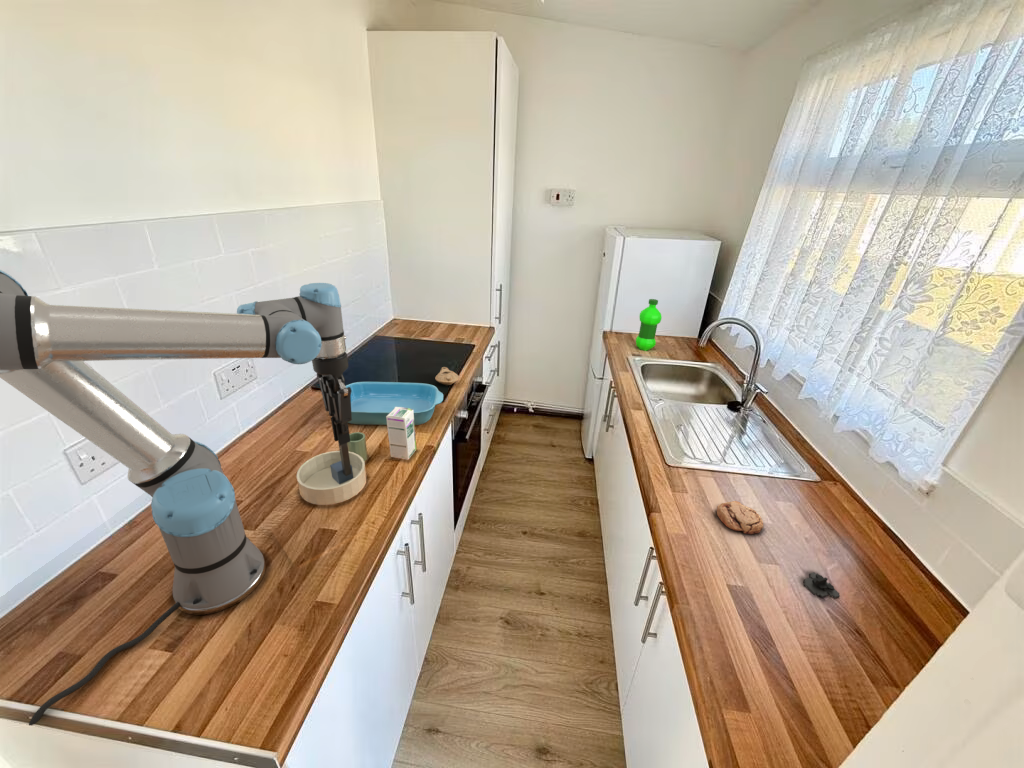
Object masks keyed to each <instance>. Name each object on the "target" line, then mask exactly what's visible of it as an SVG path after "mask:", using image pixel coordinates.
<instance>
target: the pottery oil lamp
mask: <svg viewBox="0 0 1024 768" xmlns="http://www.w3.org/2000/svg"><path fill="white" fill-rule="evenodd" d="M434 378H435V379H434V380H435V381H436V382H437V383H439V384H441V385H445V386H451V385H452V384H454V383H456V382H458V381H459V379H460V376H459V375H458V373H456V372H454V371H453V370H450V369H449V368H448V367H447V366H443V367H441V368H440V370H439V372H438V373H437V375H436V376H435V377H434Z"/></svg>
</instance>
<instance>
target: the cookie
mask: <svg viewBox="0 0 1024 768" xmlns="http://www.w3.org/2000/svg"><path fill="white" fill-rule="evenodd" d="M716 515H717V517H718V518H719V520H720V521H721V522H722V524H724V526H726V528H728V529H731V530H733V531H736V532H737V531H738V532H742V533H743V534H747V535H754V534H760V533H761V531H762V530H763V528H764V521H763V519H762V517H761V516H760V514H759V513H758V512H757V510H755V509H754V508H751V507H749V506H747V505H745V504H742V503H741V502H740V501H737V500H732V501H727V502H722V503H720V504H718V505H717V508H716Z"/></svg>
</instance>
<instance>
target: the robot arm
mask: <svg viewBox="0 0 1024 768" xmlns="http://www.w3.org/2000/svg"><path fill="white" fill-rule="evenodd" d="M346 340H347V336H346V335H345V330H344V323H343V313H342V303H341V299H340V294H339V290H338V287H336V286H335V285H333V284H332V283H328V282H312V283H311V282H310V283H307V284H303V285H301V286H300V288H299V295H298V296H294V297H288V298H280V299H272V300H270V299H269V300H262V301H257V300H256V301H254V302H249V303H244V304H240V305H239V306H238V307H237V308H236V313H232V312H230V313H229V312H208V311H191V310H190V311H188V310H187V311H186V310H169V309H167V310H166V309H149V308H148V309H146V308H126V307H105V306H104V307H103V306H83V305H64V304H62V305H61V304H50V303H47V302H45V301H43V299H41V298H39V297H38V296H35V295H29V294H28V292H27V291H26V289H25V288H24V287H23V286H22V284H21V283H20V282H19V281H18V280H16V278H14V277H13V276H12V275H10V274H8V273H7V272H6V271H3V270H2V269H0V379H2V380H3V381H4V382H6V383H7V384H8V385H10V386H11V387H13V388H14V389H16V390H17V391H18V392H19V393H21V394H23V395H24V396H26V397H27V398H28V399H30V400H31V401H32V402H33V403H36V404H37V405H38V406H40V408H42V409H44V410H45V411H47V412H48V413H49V414H51V415H52V416H54V417H55V418H56V419H58V420H60V421H61V422H62V423H64V424H65V425H66V426H68V427H70V429H72V430H74V431H75V432H77V433H78V434H79V435H81V436H82V437H84V438H85V439H87V440H88V441H89V442H91V443H92V444H93V445H95V446H96V447H97V448H99V449H101V450H102V451H103V452H105V453H106V454H107V455H109V456H110V457H112V458H113V459H115V460H116V461H117V462H119V463H120V464H122V465H123V466H125V467H126V468H127V470H128V471H127V480H128V481H129V482H130V483H132V484H133V485H135V486H136V487H137V488H139V489H140V490H142V492H143V491H144V492H145V493H146V494H147V495H149V496H150V497H151V503H150V504H151V506H150V507H151V515H152V519H153V521H154V523H155V525H157V527H158V529H159V531H160V534H161V536H162V539H163V541H164V544H165V546H166V549H167V551H168V553H169V556H170V558H171V561H172V564H173V566H174V572H173V580H172V598H173V600H174V602H175V603H174V604H173V605H172V606H171V607H170V608H168V609H167V610H166V611H165V612H164V613H163V614H161V616H159V617H158V618H157V619H156V620H155V621H154V622H153V623H152V624H151V625H150V626H149V627H148V628H147V629H146V630H144V631H143V633H141V634H139V635H138V636H137V637H135V638H134V639H132V640H130V641H127V642H125V643H122V644H120V645H117V646H116V647H113V649H111V650H110V651H108V652H107V653H106V654H105V655H103V656H102V657H101V658H100V659H99V661H98V662H97V663H96V664H95V665H94V667H93V668H92V669H91V671H90V672H89V673H88V674H86V675H85V676H84V677H83V678H82V679H80V680H79V681H77V682H76V683H74V684H72V685H71V686H69V687H67V688H65V689H64V690H62V691H60V692H58V693H57V694H55V695H54V696H52V697H51V698H49V699H48V700H46V701H45V702H44V703H43V704H42V705H41V706H40V707H39V708H38V709H37V710H36V711H35V713H34V714H33V716H32V717H31V718H30V721H29V723H28V726H33V725H35V724H37V722H38V721H39V720H40V719H41V717H43V715H44V713H45V712H46V711H47V710H48V709H49V708H50V707H52V706H53V705H54V704H56V703H58V702H59V701H60V700H62V699H64V698H65V697H67V696H70V695H71V694H72V693H74V692H76V691H77V690H79V689H81V688H82V687H84V686H85V685H87V683H90V681H91V680H92V679H94V678H95V677H96V676H97V675H98V673H99V672H100V671H101V670H102V668H103V667H104V666H105V665H106V663H107V662H108V661H109V660H110V659H112V657H114V656H115V655H118V653H120V652H122V651H123V652H124V651H125V650H128V649H129V648H132V647H134V646H136V645H137V644H139V643H141V642H142V641H144V640H145V639H147V638H148V637H149V636H150V635H151V634H152V633H153V632H154V631H155V630H156V629H157V628H158V627H159V626H160V625H161V624H162V623H163V622H164V621H166V620H167V619H168V618H169V617H170V616H171V615H173V613H174V612H175V611H177V610H178V609H179V610H180V611H181V612H183V613H185V614H187V615H194V616H203V615H205V616H206V615H209V614H214V613H218V612H221V611H224V610H226V609H229V608H231V607H232V606H234V605H236V604H238V603H240V602H241V601H243V600H244V599H245V598H247V597H248V596H250V595H251V594H252V593H253V592H254V591H255V590H256V589H257V587H258V586H259V585H260V584H261V582H262V580H263V578H264V576H265V574H266V567H267V565H266V561H265V557H264V555H263V552H262V551H261V550H260V548H258V547H257V546H256V545H255V544H254V543H253V542H252V541H251V539H249V537H248V536H247V534H246V531H245V527H244V524H243V521H242V517H241V514H240V510H239V507H238V503H237V500H236V492H235V488H234V487H233V484H232V483H231V482H230V480H229V479H228V477H227V476H226V475H225V473H224V471H223V469H222V464H221V461H220V459H219V457H218V455H217V454H216V453H215V452H214V451H213V450H212V449H211V448H210V447H208V446H207V445H205V444H204V443H202V442H199V441H195V440H193V439H192V438H191V437H190V436H188V435H187V434H184V433H171V432H170V431H169V430H167V428H165V427H164V426H163V425H162V424H160V422H158V421H156V420H155V418H153V417H152V416H151V415H150V414H148V413H147V412H146V411H145V410H143V409H142V408H141V407H140V406H139V405H137V403H135V402H134V401H132V399H131V398H129V397H128V396H127V395H125V394H124V393H123V392H122V391H121V390H119V389H118V388H117V387H116V386H115V385H113V384H112V383H111V382H110V381H109V380H108V379H106V378H105V377H104V376H102V375H101V374H100V373H99V372H98V371H97V370H95V369H94V368H93V367H92V366H91V365H90V364H88V363H87V362H89V361H91V362H92V361H93V362H95V361H96V362H97V361H154V360H155V361H156V360H159V361H160V360H162V361H163V360H210V359H211V360H215V359H221V360H223V359H282V360H283V361H285V362H287V363H290V364H292V365H305V364H308V363H310V362H311V363H312V369H313V371H314V373H316V377H317V380H318V383H319V387H320V388H319V389H320V392H321V396H322V401H323V405H324V409H325V411H326V412H327V413H328V416H329V417H330V421H331V427H332V435H333V440H334V441H335V442H337V443H338V446H339V445H342V444H345V443H348V442H350V435H349V434H350V427H349V423H348V422H349V421H352V414H351V388H350V387H348V388H346V386H347V385H345V384H346V379H345V376H344V375H343V374H344V372H345V371H346V370H348V368H349V358H348V352H346V351H347V345H346ZM334 413H335V414H336V421H335V418H334Z"/></svg>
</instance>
